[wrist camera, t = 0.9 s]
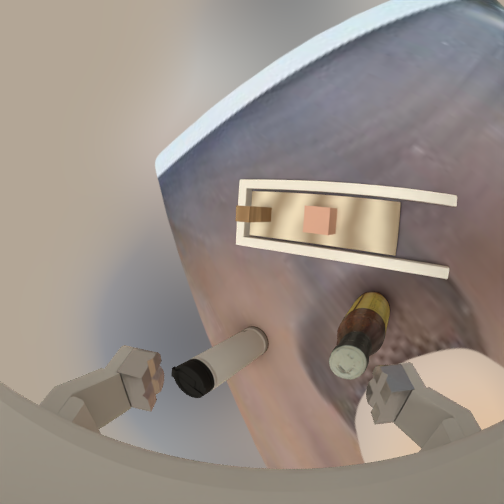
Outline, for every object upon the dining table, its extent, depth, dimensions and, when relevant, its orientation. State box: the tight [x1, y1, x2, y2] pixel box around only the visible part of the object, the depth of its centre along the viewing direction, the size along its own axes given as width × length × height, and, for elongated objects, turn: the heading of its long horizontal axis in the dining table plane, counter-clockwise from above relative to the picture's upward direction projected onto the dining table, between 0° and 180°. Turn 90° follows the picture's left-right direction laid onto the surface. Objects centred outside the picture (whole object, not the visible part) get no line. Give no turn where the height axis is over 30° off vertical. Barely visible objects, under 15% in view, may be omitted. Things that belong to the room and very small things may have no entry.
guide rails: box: [236, 180, 457, 279], centre depth 42 cm, size 38×12×2 cm, turn 87°
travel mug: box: [172, 327, 268, 398], centre depth 46 cm, size 6×7×20 cm
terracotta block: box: [303, 205, 337, 235], centre depth 41 cm, size 4×4×4 cm
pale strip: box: [236, 191, 401, 256], centre depth 41 cm, size 26×8×8 cm, turn 87°
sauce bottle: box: [329, 292, 390, 379], centre depth 33 cm, size 6×6×20 cm
